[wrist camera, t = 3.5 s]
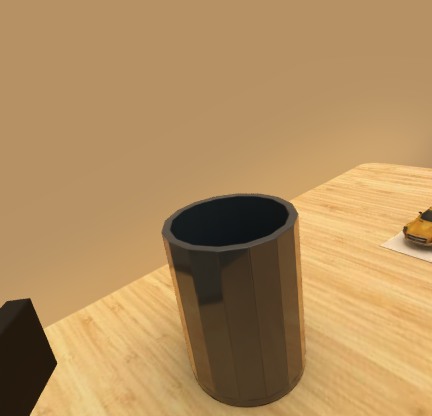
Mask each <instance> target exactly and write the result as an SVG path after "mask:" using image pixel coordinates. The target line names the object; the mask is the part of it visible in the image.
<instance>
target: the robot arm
mask: <svg viewBox="0 0 432 416" xmlns="http://www.w3.org/2000/svg"><path fill="white" fill-rule="evenodd" d="M56 365H57V361H56V359H55V356H54V354H53V352H52V349H51V347H50V345H49V342H48V340H47V337H46V335H45V333H44V330H43V328H42V326H41V323H40V321H39V318H38V316H37V314H36V311H35V309H34V307H33V304H32V302H31V299H30V298H28V299H20V300H13V301H7V302H6V303H5V304H4V305H3V306H2V307H1V308H0V416H30V414H31V412H32V410H33V408H34V406H35V405H36V403H37V401H38V399H39V397H40V395H41V393H42V391H43V390H44V388H45V386H46V384H47V382H48V380H49V378H50V377H51V375H52V373H53V371H54V369H55V367H56Z"/></svg>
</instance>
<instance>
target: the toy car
mask: <svg viewBox="0 0 432 416" xmlns="http://www.w3.org/2000/svg"><path fill="white" fill-rule="evenodd" d="M419 213H420V215H419V216H418V217H417V218H416V219H415V220H414V221H412V222H411V223H408V224H407V225H406V226H404V229H403V230H402V231H401V232H400V233H398V234H397V235H395V236H394V237H392V238H391V239H389V240H388V241H387V242H385V243H384V244H382V245H381V246H382V247H385V248H388V249H391V250H394V251H397V252H401V253H404V254H407V255H410V256H413V257H416V258H419V259H422V260H426V261H429V262H432V207H430V208H429V209H428V210H427V211H425V212H424V213H422V212H419Z"/></svg>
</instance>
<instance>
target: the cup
mask: <svg viewBox="0 0 432 416" xmlns="http://www.w3.org/2000/svg"><path fill="white" fill-rule="evenodd" d="M162 237H163V241H164V246H165V250H166V255H167V259H168V263H169V268H170V272H171V277H172V281H173V286H174V290H175V295H176V299H177V304H178V308H179V313H180V317H181V322H182V326H183V331H184V335H185V340H186V344H187V349H188V353H189V357H190V362H191V366H192V368H193V371H194V374H195V377H196V380H197V381H198V383H199V385H200V386H201V387H202V389H203V390H204V391H205V392H207V393H208V394H209V395H210V396H212V397H213V398H215V399H216V400H218V401H221V402H223V403H226V404H229V405H234V406H241V407H253V406H260V405H264V404H268V403H271V402H273V401H275V400H278V399H279V398H281V397H283V396H284V395H286V394H287V393H288V392H289V391H291V390H292V389H293V388H294V386H295V385H296V384H297V383H298V381H299V380H300V378H301V376H302V374H303V371H304V367H305V353H306V346H305V327H304V309H303V291H302V272H301V254H300V236H299V217H298V213H297V211H296V209H295V208H294V206H293V204H292V203H290V202H287V201H285V200H283V199H281V198H279V197H275V196H269V195H264V194H232V195H224V196H216V197H212V198H209V199H205V200H201V201H198V202H195V203H192V204H190V205H188V206H186V207H184V208H182V209H179V210H177V211H176V212H175V213H174V214H173V215H171V216H170V217H169V218H168V219H167V220H166V221H165V223H164V226H163V229H162Z"/></svg>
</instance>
